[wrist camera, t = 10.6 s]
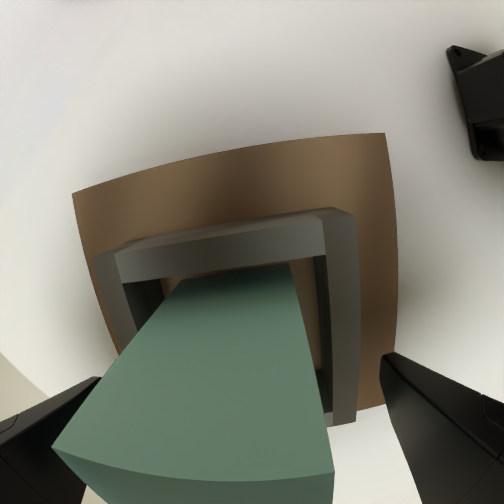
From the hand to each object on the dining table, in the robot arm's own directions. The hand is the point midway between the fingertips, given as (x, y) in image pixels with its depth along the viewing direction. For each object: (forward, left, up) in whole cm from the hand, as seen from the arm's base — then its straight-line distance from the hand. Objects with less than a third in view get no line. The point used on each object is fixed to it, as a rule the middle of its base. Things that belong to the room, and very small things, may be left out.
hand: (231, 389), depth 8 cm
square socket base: (0, 0, -6) cm, 6 cm away
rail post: (0, 0, -4) cm, 4 cm away
